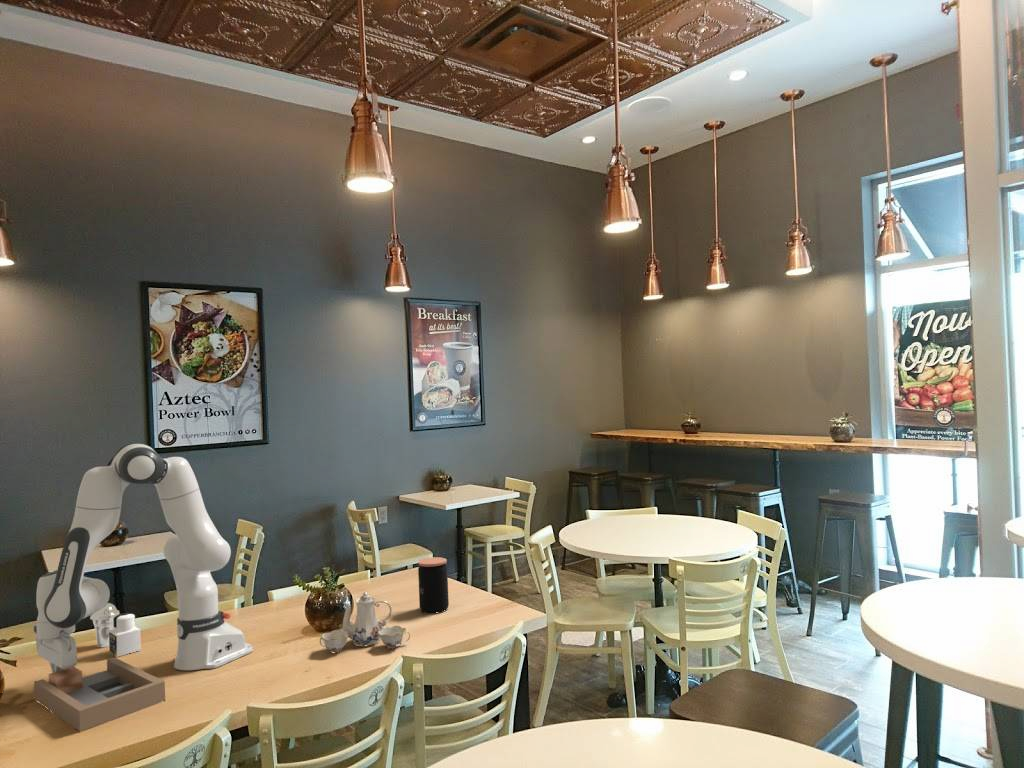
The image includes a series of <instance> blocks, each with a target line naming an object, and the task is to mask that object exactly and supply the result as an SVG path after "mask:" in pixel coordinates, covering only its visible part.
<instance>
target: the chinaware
mask: <svg viewBox="0 0 1024 768" xmlns="http://www.w3.org/2000/svg"><path fill="white" fill-rule="evenodd" d="M354 602H355V604H356V616H355V620H354V621H355V622H354V623H353V624H351V605H350V603H349V602H347V601H343V602H342V603H343V604H344V606H345V612H344V616H343V618H342V619H343V620H342V630H339V629H334V630H331V631H330V632H324V633H322V634H321V637H320V639H319V644H320V645H321V647H323V648H324V647H325V648H326V649H327V650H329V651H332V652H338V651H339V650H342V649H343V648H344V646H345V645H346V644H347V641H348V638H349V639H350V640H351V641H353V645H354V644H355V645H358V646H357V647H360V646H365V645H372V644H375V643H377V644H379V643H380V642H382V643H383V645H385V646H386V647H387V646H388V648H394V649H396V648H395V647H397V648H398V645H402V644H403V643H402V642H408V641H409V640H410V638H411V634H410V631H408V630H407V628H406V627H402V626H401V625H393V626H391V627H389V626H386V625H387V621H386V620H388V619H389V618H390V617H391V615H392V605H391V604H390V603H389V602H388V601H386V600H377V601H376V597H371V595H370V594H368V593H367V591H363V593H362V595H360V597H359V598H357V599H355V600H354ZM380 603H383V604H386V605H387V606H388V609H389V612H388V613H389V614H388V615H387V616H386V617H385V618H383V619H380V620H378V617H377V615H376V611H375V607H376V608H379V607H380ZM406 633H408V639H406V640H403V637H404V634H406ZM322 641H323V643H322ZM379 641H380V642H379ZM378 642H379V643H378ZM355 645H354V646H355ZM375 645H376V644H375ZM396 645H397V646H396ZM372 646H373V645H372ZM365 647H366V646H365Z"/></svg>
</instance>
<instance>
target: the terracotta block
mask: <svg viewBox="0 0 1024 768" xmlns="http://www.w3.org/2000/svg"><path fill="white" fill-rule="evenodd" d="M82 678H83V671H82V670H81V669H78V668H77V667H76V666H74V667H70V668H67V669H64V670H61V671H57V672H54V673H52V672H51V673H48V683H50V684H52V685H53V686H55V687H56V688H58V689H60V690H61V691H63V692H64V693H68V692H71V691H74V690H77V689H80V688H82Z"/></svg>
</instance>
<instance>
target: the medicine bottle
mask: <svg viewBox="0 0 1024 768" xmlns="http://www.w3.org/2000/svg"><path fill="white" fill-rule="evenodd" d="M113 622H114V630H110V631H109V646H108V647H109V648H108V649H109V653H110V654H112V655H113V656H114V657H115V658H120V657H123V656H127V655H129V653H131V654H133V652H134V653H137V652H136V651H138V652H140V651H141V647H142V646H141V629H140V628H139V627H137V626H136V614H134V612H133V613H132V612H124V613H120V614H119V615H117V616H115V617H114V618H113ZM126 654H127V655H126ZM122 655H123V656H122ZM119 656H120V657H119Z"/></svg>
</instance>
